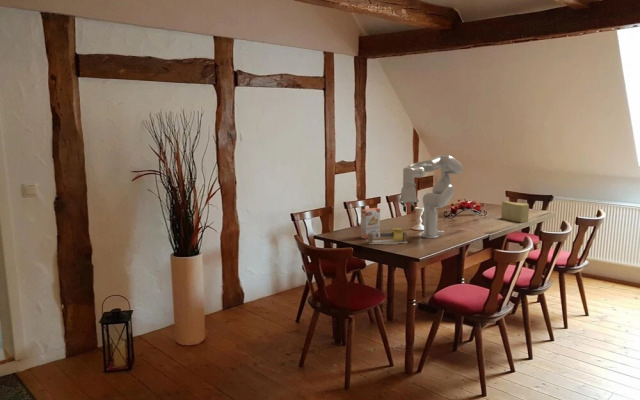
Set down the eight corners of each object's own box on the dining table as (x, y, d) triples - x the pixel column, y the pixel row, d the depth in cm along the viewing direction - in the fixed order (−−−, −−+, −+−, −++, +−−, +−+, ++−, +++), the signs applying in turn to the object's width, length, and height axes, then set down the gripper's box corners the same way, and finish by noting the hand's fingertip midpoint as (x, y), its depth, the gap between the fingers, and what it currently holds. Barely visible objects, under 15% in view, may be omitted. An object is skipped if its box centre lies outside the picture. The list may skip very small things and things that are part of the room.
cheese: (497, 219, 407) (498, 201, 404) (505, 217, 412) (505, 200, 410) (521, 223, 388) (522, 204, 386) (528, 221, 394) (529, 203, 391)
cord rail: (403, 240, 342) (403, 229, 340) (407, 243, 333) (407, 232, 332) (367, 241, 339) (367, 231, 338) (370, 245, 330) (370, 234, 329)
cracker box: (366, 239, 346) (365, 210, 343) (360, 238, 351) (360, 209, 348) (380, 236, 354) (380, 208, 351) (374, 235, 359) (374, 207, 356)
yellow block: (399, 237, 340) (400, 227, 339) (402, 240, 333) (402, 229, 332) (391, 238, 339) (391, 227, 338) (394, 240, 332) (394, 229, 331)
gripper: (418, 184, 336) (418, 210, 339) (395, 185, 334) (395, 211, 337) (422, 185, 328) (422, 212, 331) (398, 186, 327) (398, 213, 329)
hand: (408, 211), depth 334 cm, fingers open, 4 cm apart
